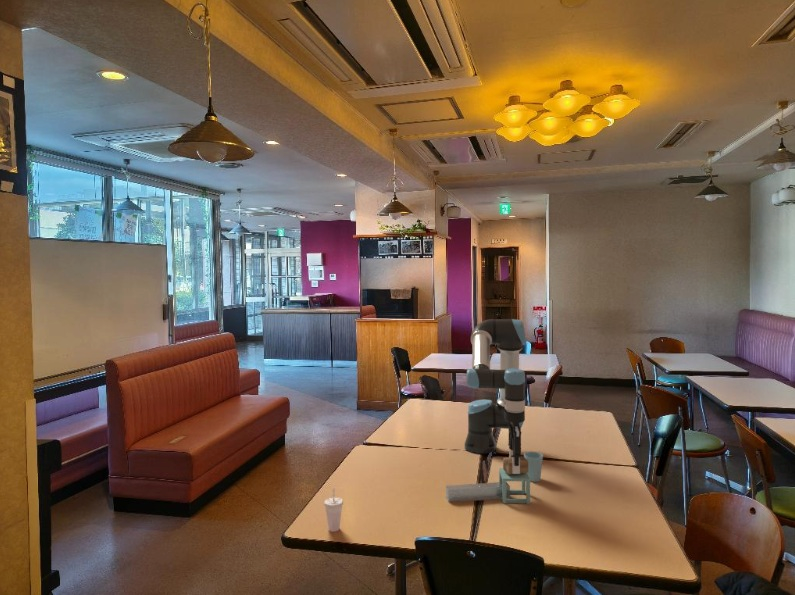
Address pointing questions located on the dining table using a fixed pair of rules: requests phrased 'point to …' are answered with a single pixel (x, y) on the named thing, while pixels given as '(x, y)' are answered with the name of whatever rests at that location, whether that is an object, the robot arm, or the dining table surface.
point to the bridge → (515, 477)
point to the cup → (534, 465)
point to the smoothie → (333, 512)
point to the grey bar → (476, 492)
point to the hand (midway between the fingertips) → (514, 469)
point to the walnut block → (508, 465)
